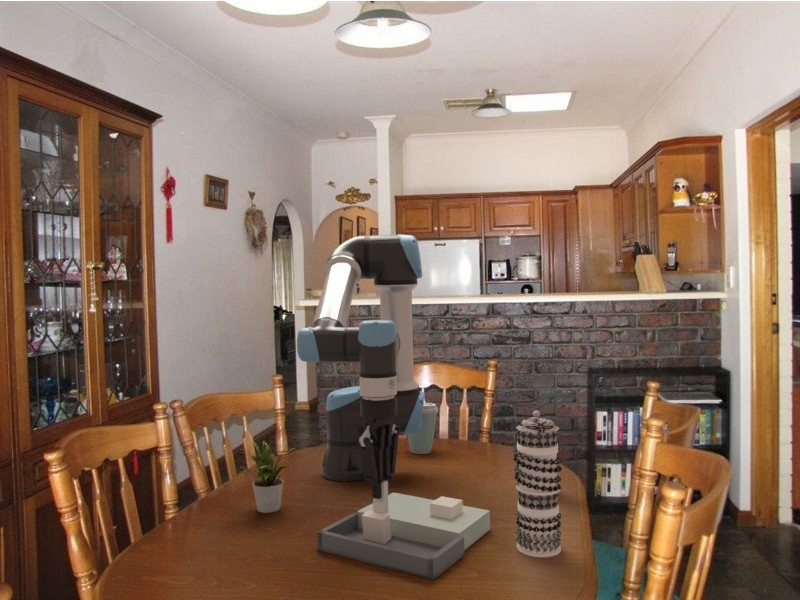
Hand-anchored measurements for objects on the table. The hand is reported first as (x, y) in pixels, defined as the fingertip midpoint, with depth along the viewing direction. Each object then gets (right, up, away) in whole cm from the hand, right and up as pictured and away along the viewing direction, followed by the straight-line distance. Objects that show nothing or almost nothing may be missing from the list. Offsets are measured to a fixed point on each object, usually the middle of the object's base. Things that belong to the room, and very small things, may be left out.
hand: (380, 512), depth 131 cm
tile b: (+13, -1, +3) cm, 14 cm away
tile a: (0, -2, 0) cm, 2 cm away
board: (+9, -5, +5) cm, 11 cm away
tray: (+2, -6, -6) cm, 9 cm away
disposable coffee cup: (+11, -4, +67) cm, 68 cm away
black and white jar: (+31, -5, -6) cm, 32 cm away
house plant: (-28, -6, +20) cm, 34 cm away
